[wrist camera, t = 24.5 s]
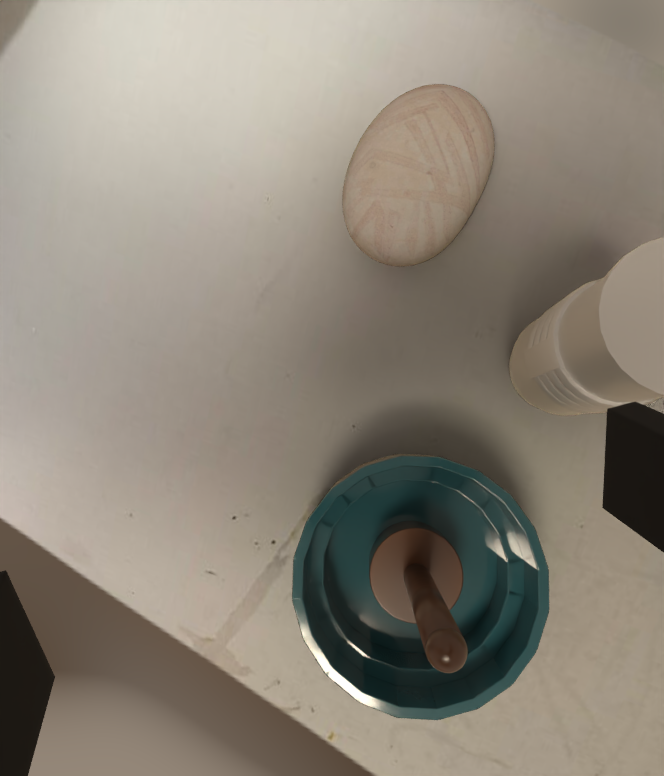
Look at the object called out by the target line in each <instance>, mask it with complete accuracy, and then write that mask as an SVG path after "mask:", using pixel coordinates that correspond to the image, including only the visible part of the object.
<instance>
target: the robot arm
mask: <svg viewBox="0 0 664 776" xmlns="http://www.w3.org/2000/svg"><path fill="white" fill-rule="evenodd" d="M603 508H604V509H605V510H606V511H608V512H609V513H610V514H612V515H613V516H615V517H616V518H617V519H619V520H620V521H621V522H623V523H624V524H625V525H627V526H628V527H630V528H631V529H632V530H634V531H635V532H636V533H638V534H639V535H641V536H642V537H643V538H645V539H646V540H647V541H649V542H650V543H652V544H653V545H654V546H656V547H657V548H658V549H660V550H661V551H662V552H664V414H663V413H660V412H658V411H656V410H654V409H651V408H649V407H647V406H645V405H642V404H640V403H638V402H631V403H627V404H623V405H620V406H616V407H612V408H608V409H607V425H606V446H605V468H604V489H603ZM54 678H55V676H54V674H53V672H52V669H51V667H50V665H49V663H48V661H47V659H46V656H45V654H44V652H43V650H42V648H41V646H40V643H39V641H38V639H37V637H36V635H35V633H34V630H33V628H32V626H31V624H30V622H29V620H28V617H27V615H26V613H25V611H24V609H23V606H22V604H21V602H20V600H19V598H18V596H17V593H16V592H15V589H14V587H13V585H12V583H11V580H10V578H9V576H8V574H7V572H6V571H2V572H0V776H28V773H29V769H30V766H31V762H32V758H33V755H34V751H35V747H36V744H37V740H38V736H39V733H40V729H41V726H42V722H43V718H44V715H45V711H46V707H47V704H48V700H49V696H50V692H51V689H52V686H53V682H54Z"/></svg>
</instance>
